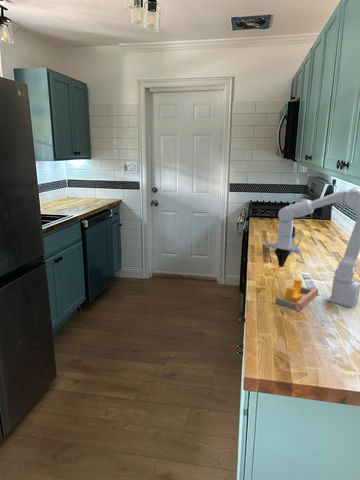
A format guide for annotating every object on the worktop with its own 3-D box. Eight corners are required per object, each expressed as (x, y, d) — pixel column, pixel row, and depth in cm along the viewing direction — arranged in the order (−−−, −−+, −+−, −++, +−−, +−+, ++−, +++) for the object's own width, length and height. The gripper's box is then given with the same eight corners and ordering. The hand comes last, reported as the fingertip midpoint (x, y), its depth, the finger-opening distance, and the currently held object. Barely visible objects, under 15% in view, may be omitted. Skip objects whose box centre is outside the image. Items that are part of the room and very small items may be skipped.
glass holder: (286, 249, 201) (289, 225, 197) (304, 256, 189) (307, 230, 185) (274, 251, 198) (277, 226, 194) (292, 258, 185) (295, 231, 181)
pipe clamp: (296, 306, 129) (298, 290, 127) (284, 303, 131) (286, 287, 129) (304, 295, 138) (306, 280, 137) (293, 292, 141) (295, 278, 139)
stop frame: (317, 295, 138) (318, 288, 137) (299, 311, 124) (300, 303, 123) (294, 289, 144) (295, 282, 143) (275, 303, 130) (275, 296, 129)
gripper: (305, 236, 138) (301, 268, 142) (272, 230, 147) (269, 260, 151) (298, 240, 133) (295, 272, 137) (265, 233, 142) (262, 264, 146)
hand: (281, 266), depth 143 cm, fingers closed
